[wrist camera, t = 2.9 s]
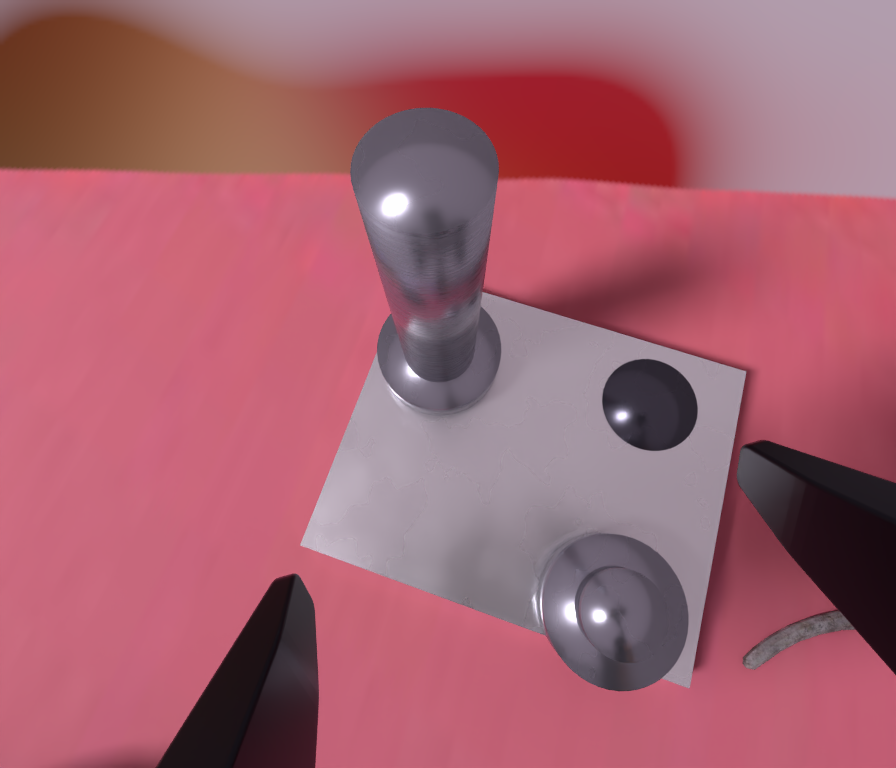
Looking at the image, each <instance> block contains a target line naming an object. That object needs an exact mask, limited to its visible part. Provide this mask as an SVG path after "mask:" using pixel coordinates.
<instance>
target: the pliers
mask: <svg viewBox="0 0 896 768" xmlns="http://www.w3.org/2000/svg"><path fill="white" fill-rule="evenodd" d="M840 630H856V629H855V628H854V627H853V626H852V625H851V624H850V623H849V621H848V620H847V619H846V618H845V617H844V616H843V615H842V613H841V612H840V611H832V612H828V613H824V614H820V615H816V616H812V617H809V618H807V619H804V620H801V621H799V622H796V623H793V624H791V625H788V626H786V627H785V628H783V629H781V630H779V631H777V632H775V633H773V634H772V635H770V636H768V637H767V638H766V639H764V640H763V641H761V642H760V643H759V644H757V645H756V646H755V647H753V648H752V649H751V650H750V651H749V652H748V653H747V654H746V655H745V656H744V657H743V665H744V666H745V667H746V668H749V669H754V670H755V669H756V668H758V667H759V666H761V665H762V664H763V663H765V662H766V661H768V660H769V659H771V658H772V657H774V656H775V655H776V654H778V653H779V652H780V651H782V650H784V649H786V648H788V647H790V646H792V645H794V644H795V643H797V642H799V641H802V640H805V639H808V638H811V637H814V636H817V635H820V634H824V633H829V632H835V631H840Z"/></svg>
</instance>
